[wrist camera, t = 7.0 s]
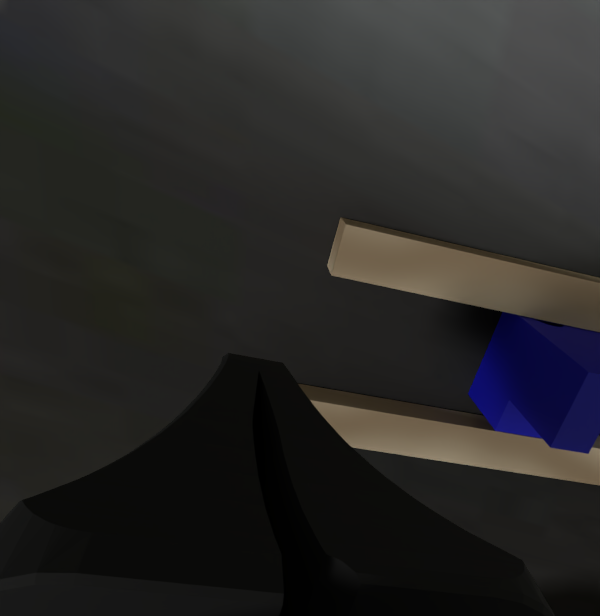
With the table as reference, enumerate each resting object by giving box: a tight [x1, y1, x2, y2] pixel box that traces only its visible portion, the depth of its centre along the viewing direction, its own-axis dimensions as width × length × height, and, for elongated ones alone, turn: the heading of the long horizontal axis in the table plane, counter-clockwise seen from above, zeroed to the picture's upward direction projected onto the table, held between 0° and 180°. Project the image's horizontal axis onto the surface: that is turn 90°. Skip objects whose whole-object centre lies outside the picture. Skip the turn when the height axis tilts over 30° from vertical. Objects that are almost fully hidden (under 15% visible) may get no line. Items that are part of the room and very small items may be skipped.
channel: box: [298, 218, 600, 485], centre depth 21 cm, size 10×21×4 cm, turn 76°
